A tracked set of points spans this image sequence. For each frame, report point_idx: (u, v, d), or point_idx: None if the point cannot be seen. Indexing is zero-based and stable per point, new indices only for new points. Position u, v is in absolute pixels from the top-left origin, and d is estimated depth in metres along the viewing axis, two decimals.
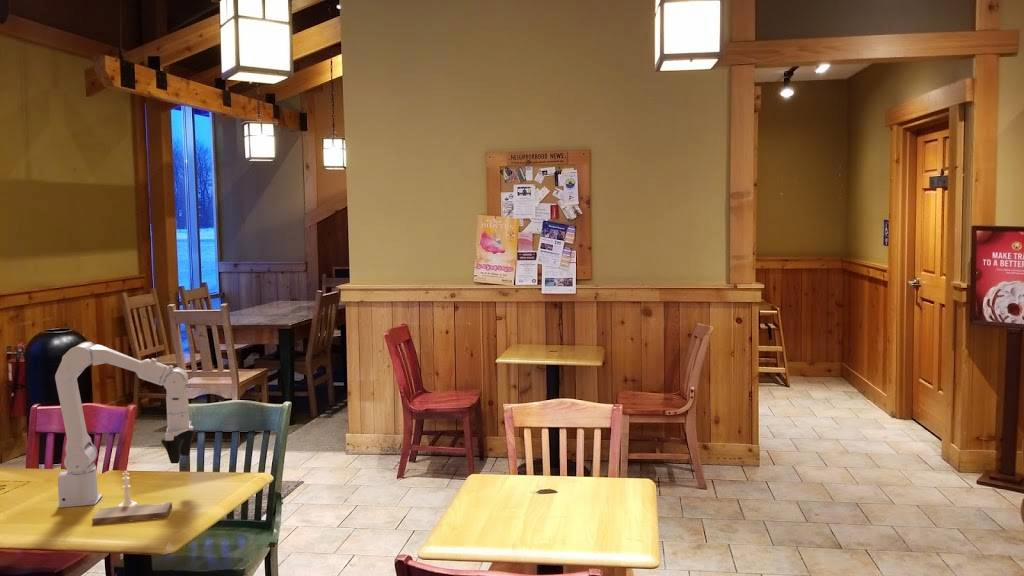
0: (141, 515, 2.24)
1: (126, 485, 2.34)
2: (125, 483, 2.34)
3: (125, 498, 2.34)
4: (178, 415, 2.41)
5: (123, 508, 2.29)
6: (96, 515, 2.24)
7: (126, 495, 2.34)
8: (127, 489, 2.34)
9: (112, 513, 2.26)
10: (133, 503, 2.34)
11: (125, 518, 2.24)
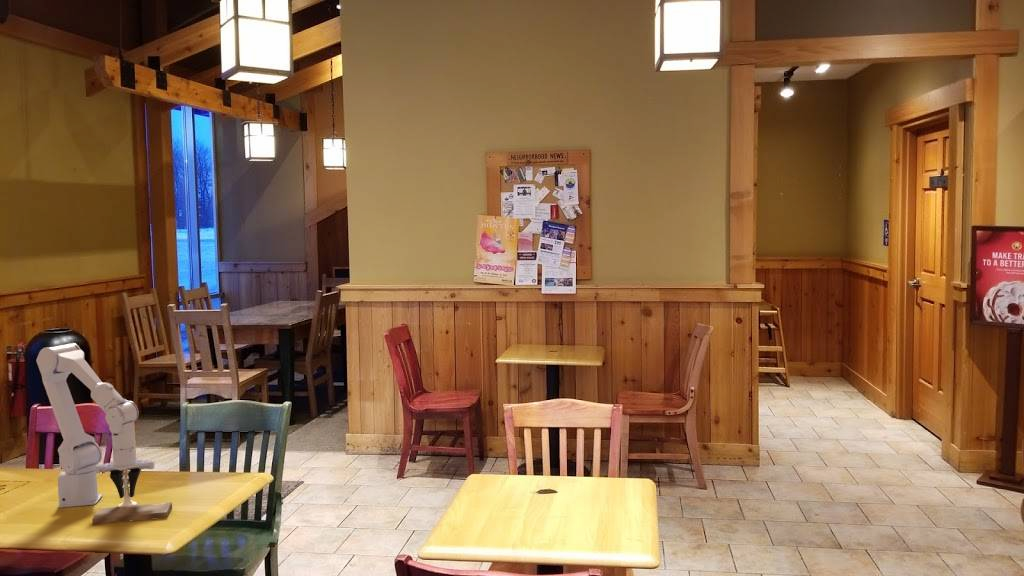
0: (141, 515, 2.24)
1: (126, 485, 2.34)
2: (125, 483, 2.34)
3: (125, 498, 2.34)
4: None
5: (123, 508, 2.29)
6: (96, 515, 2.24)
7: (126, 495, 2.34)
8: (127, 489, 2.34)
9: (112, 513, 2.26)
10: (133, 503, 2.34)
11: (125, 518, 2.24)
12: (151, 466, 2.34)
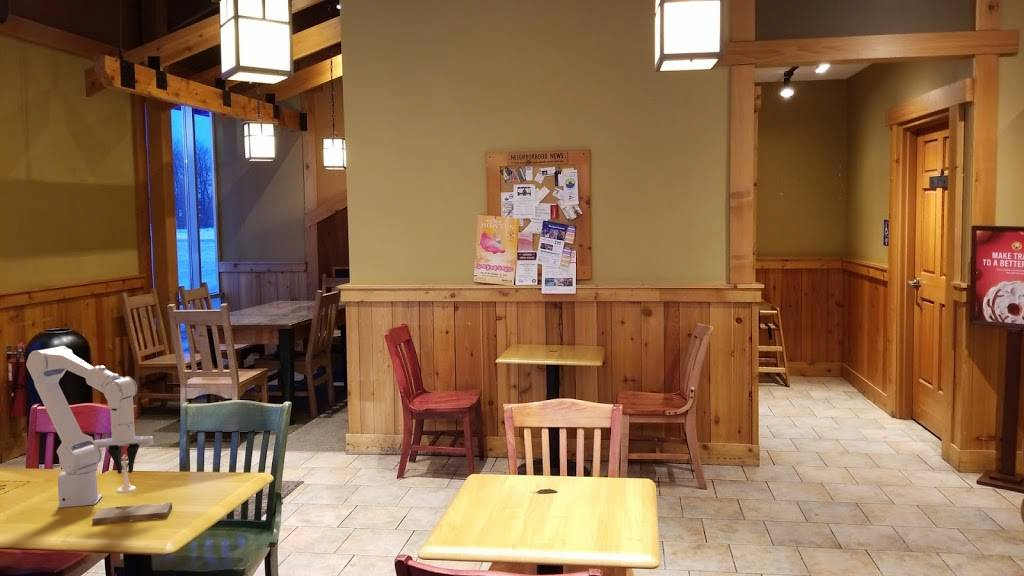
0: (141, 515, 2.24)
1: (125, 469, 2.34)
2: (124, 467, 2.33)
3: (124, 482, 2.34)
4: (111, 426, 2.31)
5: (123, 508, 2.29)
6: (96, 515, 2.24)
7: (125, 479, 2.34)
8: (126, 473, 2.34)
9: (112, 513, 2.26)
10: (132, 487, 2.34)
11: (125, 518, 2.24)
12: (150, 442, 2.34)
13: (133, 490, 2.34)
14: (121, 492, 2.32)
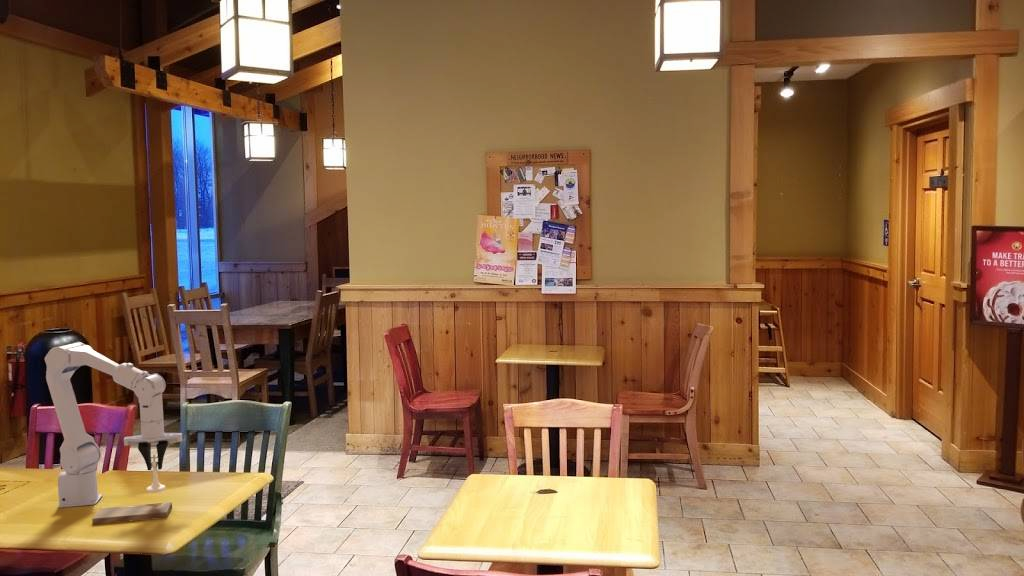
0: (141, 515, 2.24)
1: (155, 468, 2.35)
2: (154, 466, 2.35)
3: (154, 481, 2.35)
4: (141, 423, 2.33)
5: (123, 508, 2.29)
6: (96, 515, 2.24)
7: (155, 478, 2.35)
8: (156, 472, 2.35)
9: (112, 513, 2.26)
10: (162, 486, 2.36)
11: (125, 518, 2.24)
12: (179, 438, 2.35)
13: (163, 489, 2.35)
14: (151, 491, 2.34)
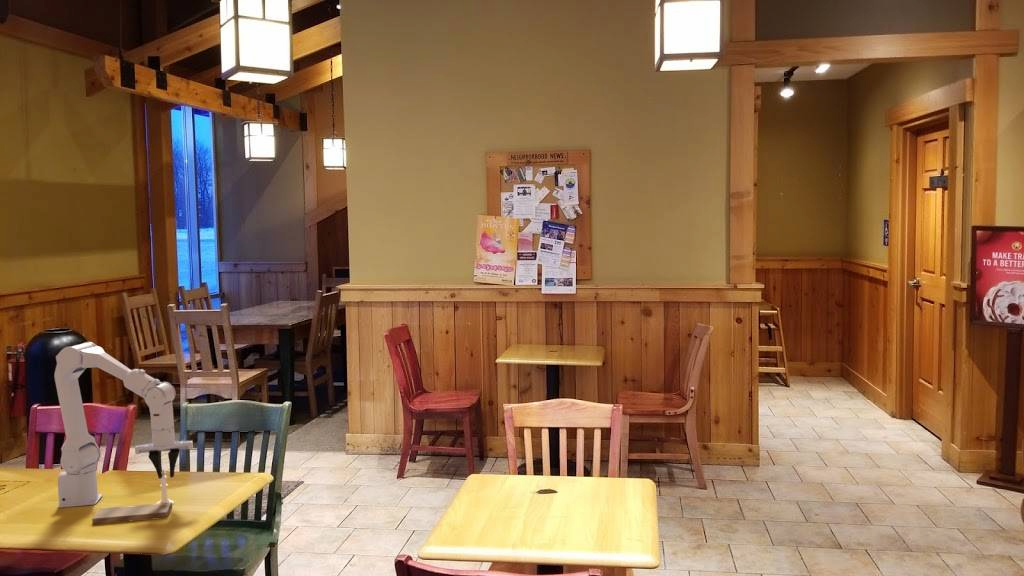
0: (141, 515, 2.24)
1: (164, 484, 2.36)
2: (163, 482, 2.36)
3: (163, 497, 2.36)
4: (152, 431, 2.34)
5: (123, 508, 2.29)
6: (96, 515, 2.24)
7: (164, 494, 2.36)
8: (164, 488, 2.36)
9: (112, 513, 2.26)
10: None
11: (125, 518, 2.24)
12: (190, 446, 2.36)
13: None
14: None
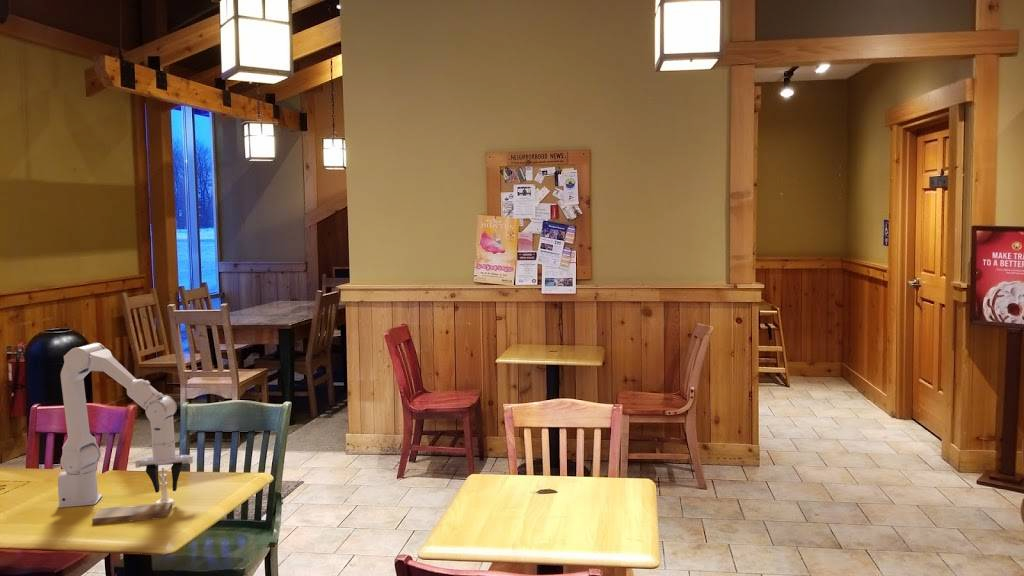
0: (141, 515, 2.24)
1: (163, 482, 2.36)
2: (162, 480, 2.36)
3: (162, 495, 2.36)
4: (152, 445, 2.34)
5: (123, 508, 2.29)
6: (96, 515, 2.24)
7: (163, 492, 2.36)
8: (164, 486, 2.36)
9: (112, 513, 2.26)
10: (170, 500, 2.36)
11: (125, 518, 2.24)
12: (190, 460, 2.37)
13: None
14: None
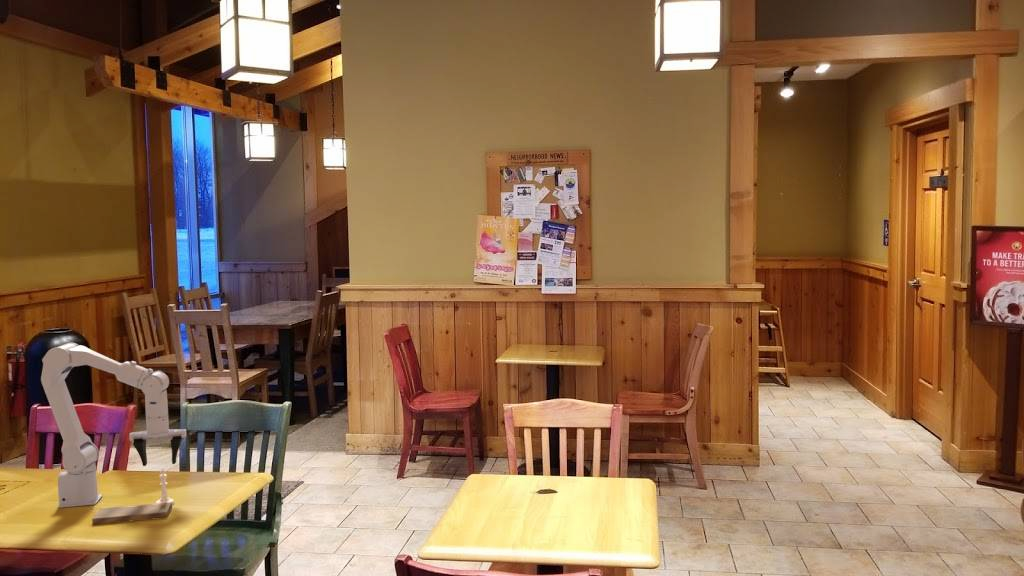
0: (141, 515, 2.24)
1: (163, 482, 2.36)
2: (162, 480, 2.36)
3: (162, 495, 2.36)
4: (146, 419, 2.38)
5: (123, 508, 2.29)
6: (96, 515, 2.24)
7: (163, 492, 2.36)
8: (164, 486, 2.36)
9: (112, 513, 2.26)
10: (170, 500, 2.36)
11: (125, 518, 2.24)
12: (183, 435, 2.40)
13: None
14: None
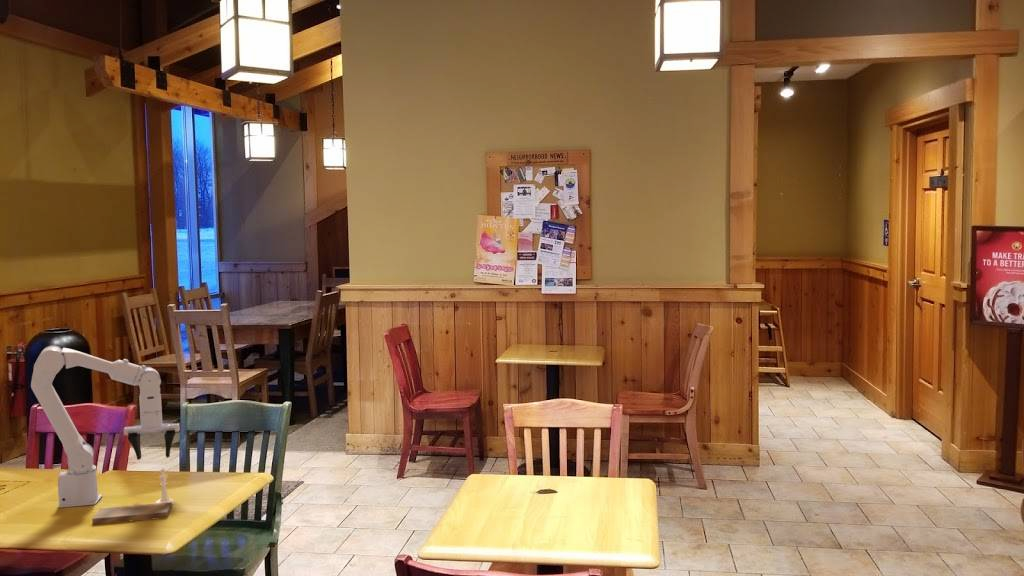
0: (141, 515, 2.24)
1: (163, 482, 2.36)
2: (162, 480, 2.36)
3: (162, 495, 2.36)
4: (140, 413, 2.44)
5: (123, 508, 2.29)
6: (96, 515, 2.24)
7: (163, 492, 2.36)
8: (164, 486, 2.36)
9: (112, 513, 2.26)
10: (170, 500, 2.36)
11: (125, 518, 2.24)
12: (176, 429, 2.47)
13: None
14: None
